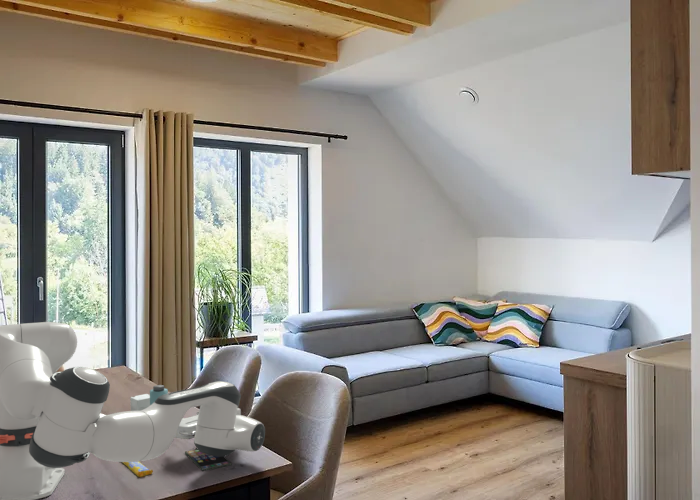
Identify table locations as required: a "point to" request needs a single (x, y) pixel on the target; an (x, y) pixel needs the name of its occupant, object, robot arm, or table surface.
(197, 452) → the smartphone
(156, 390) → the bottle
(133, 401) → the skincare box
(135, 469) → the candy bar
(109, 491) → the table surface
